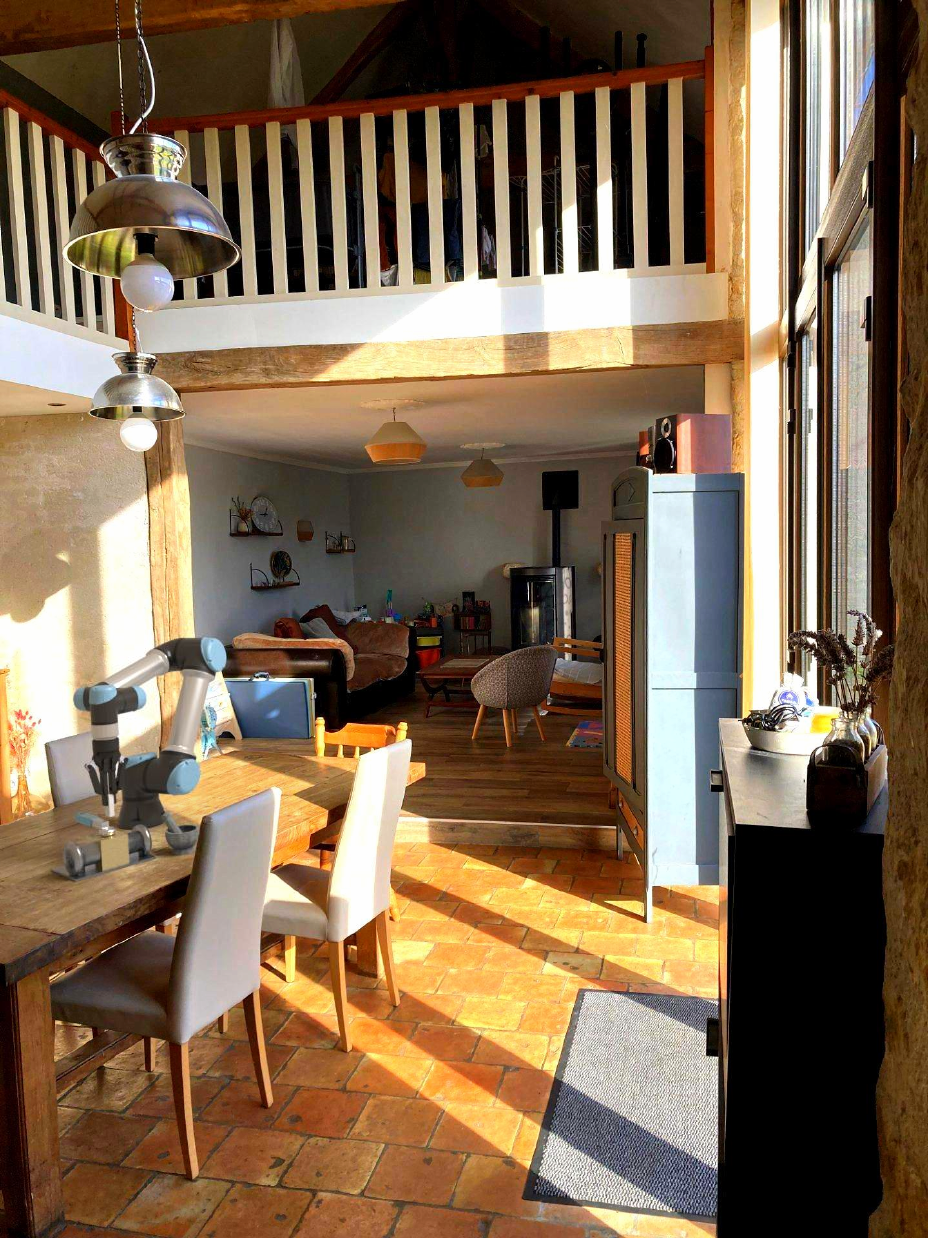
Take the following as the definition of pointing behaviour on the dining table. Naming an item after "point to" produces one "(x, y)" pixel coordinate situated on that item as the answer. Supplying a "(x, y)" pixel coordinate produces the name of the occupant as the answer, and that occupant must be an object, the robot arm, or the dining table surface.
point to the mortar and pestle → (180, 835)
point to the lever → (95, 823)
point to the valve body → (105, 853)
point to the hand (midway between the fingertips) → (110, 815)
